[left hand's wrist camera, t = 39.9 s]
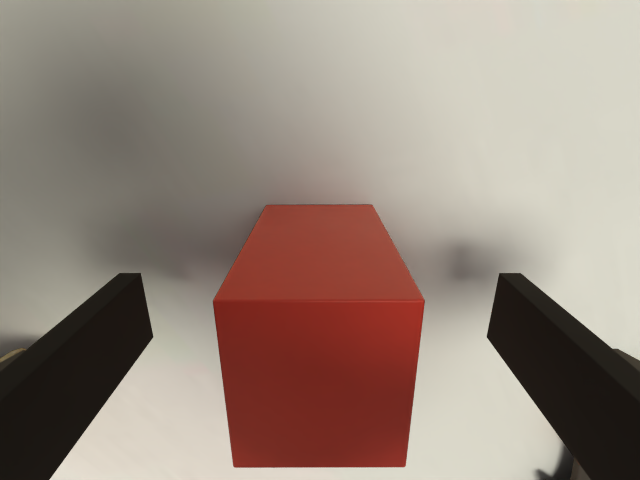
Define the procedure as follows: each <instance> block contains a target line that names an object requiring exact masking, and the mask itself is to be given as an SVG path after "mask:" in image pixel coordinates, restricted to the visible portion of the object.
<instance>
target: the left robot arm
mask: <svg viewBox="0 0 640 480" xmlns="http://www.w3.org/2000/svg"><path fill="white" fill-rule="evenodd" d="M152 338H153V333H152V328H151V323H150V318H149V313H148V308H147V303H146V298H145V293H144V288H143V283H142V278H141V273H119V274H118V275H117V276H116V277H114V278H113V279H112V280H111V281H109V282H108V283H107V284H106V285H105V286H103V287H102V288H101V289H100V290H99V291H97V292H96V293H95V294H94V295H92V296H91V297H90V298H89V299H88V300H86V301H85V302H84V303H83V304H82V305H80V306H79V307H78V308H77V309H75V310H74V311H73V312H72V313H71V314H69V315H68V316H67V317H66V318H65V319H63V320H62V321H61V322H60V323H58V324H57V325H56V326H55V327H54V328H52V329H51V330H50V331H49V332H47V333H46V334H45V335H44V336H43V337H41V338H40V339H39V340H38V341H37V342H35V343H34V344H33V345H32V346H30V347H29V348H28V349H27V350H22V351H20V352H18V353H17V354H15V355H13V356H11V357H9V358H7V359H5V360H4V361H2V362H0V480H49V479H50V478H51V477H52V475H53V474H54V473H55V471H56V470H57V468H58V467H59V466H60V464H61V463H62V462H63V460H64V459H65V457H66V456H67V455H68V453H69V452H70V451H71V449H72V448H73V447H74V445H75V444H76V442H77V441H78V440H79V438H80V437H81V436H82V434H83V433H84V431H85V430H86V429H87V427H88V426H89V425H90V423H91V422H92V420H93V419H94V418H95V416H96V415H97V414H98V412H99V411H100V409H101V408H102V407H103V405H104V404H105V403H106V401H107V400H108V398H109V397H110V396H111V394H112V393H113V392H114V390H115V389H116V387H117V386H118V385H119V383H120V382H121V381H122V379H123V378H124V377H125V375H126V374H127V372H128V371H129V370H130V368H131V367H132V366H133V364H134V363H135V361H136V360H137V359H138V357H139V356H140V355H141V353H142V352H143V350H144V349H145V348H146V346H147V345H148V344H149V342H150V341H151V339H152ZM487 338H488V339H489V341H490V342H491V344H492V345H493V346H494V348H495V349H496V350H497V352H498V353H499V355H500V356H501V357H502V359H503V360H504V361H505V363H506V364H507V366H508V367H509V368H510V370H511V371H512V372H513V374H514V375H515V377H516V378H517V379H518V381H519V382H520V383H521V385H522V386H523V387H524V389H525V390H526V392H527V393H528V394H529V396H530V397H531V398H532V400H533V401H534V403H535V404H536V405H537V407H538V408H539V409H540V411H541V412H542V414H543V415H544V416H545V418H546V419H547V420H548V422H549V423H550V425H551V426H552V427H553V429H554V430H555V431H556V433H557V434H558V436H559V437H560V438H561V440H562V441H563V442H564V444H565V445H566V446H567V448H568V449H569V451H570V452H571V453H572V455H573V456H574V457H575V459H576V460H577V462H578V463H579V464H580V466H581V467H582V468H583V470H584V471H585V473H586V474H587V475H588V477H589V478H590V479H591V480H640V361H639V360H637V359H635V358H634V357H632V356H630V355H628V354H626V353H624V352H622V351H621V350H619V349H612V348H611V347H610V346H608V345H607V344H606V343H605V342H603V341H602V340H601V339H600V338H599V337H597V336H596V335H595V334H594V333H593V332H591V331H590V330H589V329H588V328H586V327H585V326H584V325H583V324H582V323H580V322H579V321H578V320H577V319H576V318H574V317H573V316H572V315H571V314H569V313H568V312H567V311H566V310H565V309H563V308H562V307H561V306H560V305H558V304H557V303H556V302H555V301H554V300H552V299H551V298H550V297H549V296H548V295H546V294H545V293H544V292H543V291H541V290H540V289H539V288H538V287H537V286H535V285H534V284H533V283H532V282H531V281H529V280H528V279H527V278H526V277H524V276H523V275H522V274H521V273H499V278H498V283H497V288H496V293H495V298H494V303H493V308H492V313H491V318H490V323H489V328H488V333H487Z"/></svg>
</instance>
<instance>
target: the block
mask: <svg viewBox="0 0 640 480" xmlns="http://www.w3.org/2000/svg"><path fill="white" fill-rule="evenodd" d="M424 303H425V300H424V298H423V296H422V295H421V293H420V291H419V289H418V287H417V285H416V284H415V282H414V280H413V278H412V276H411V274H410V273H409V271H408V269H407V267H406V265H405V264H404V262H403V260H402V258H401V256H400V254H399V253H398V251H397V249H396V247H395V245H394V243H393V242H392V240H391V238H390V236H389V234H388V232H387V231H386V229H385V227H384V225H383V223H382V221H381V220H380V218H379V216H378V214H377V212H376V211H375V209H374V207H373V205H266V207H265V208H264V210H263V212H262V214H261V216H260V217H259V219H258V221H257V223H256V224H255V226H254V228H253V230H252V232H251V233H250V235H249V237H248V239H247V241H246V242H245V244H244V246H243V248H242V250H241V251H240V253H239V255H238V257H237V259H236V260H235V262H234V264H233V266H232V268H231V269H230V271H229V273H228V275H227V277H226V278H225V280H224V282H223V284H222V285H221V287H220V289H219V291H218V293H217V294H216V296H215V298H214V300H213V306H214V314H215V322H216V331H217V339H218V347H219V355H220V363H221V371H222V379H223V387H224V395H225V403H226V411H227V419H228V427H229V435H230V443H231V451H232V459H233V466H234V467H405V466H406V458H407V449H408V441H409V432H410V424H411V415H412V406H413V398H414V389H415V380H416V372H417V363H418V355H419V346H420V337H421V329H422V320H423V312H424Z"/></svg>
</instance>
